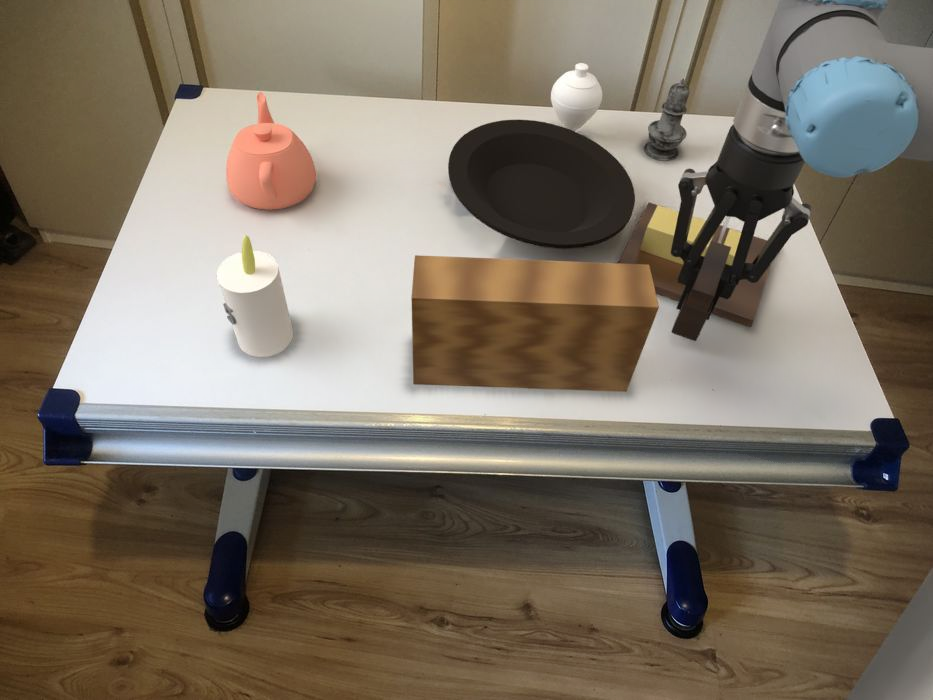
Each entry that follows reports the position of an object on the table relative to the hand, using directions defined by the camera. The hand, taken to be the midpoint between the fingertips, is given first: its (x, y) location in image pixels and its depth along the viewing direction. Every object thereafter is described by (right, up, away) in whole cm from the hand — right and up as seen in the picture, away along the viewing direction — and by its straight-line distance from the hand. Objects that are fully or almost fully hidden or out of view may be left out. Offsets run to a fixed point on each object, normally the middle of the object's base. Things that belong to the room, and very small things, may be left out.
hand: (695, 306), depth 82 cm
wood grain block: (-21, -7, -3) cm, 23 cm away
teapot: (-55, +18, +16) cm, 60 cm away
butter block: (0, +8, +9) cm, 12 cm away
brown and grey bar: (+3, +4, +5) cm, 7 cm away
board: (+3, +6, +9) cm, 12 cm away
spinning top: (-11, +28, +27) cm, 40 cm away
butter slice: (+6, +6, +7) cm, 11 cm away
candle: (-51, -4, -2) cm, 51 cm away
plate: (-18, +15, +15) cm, 27 cm away
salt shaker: (+3, +26, +26) cm, 37 cm away
